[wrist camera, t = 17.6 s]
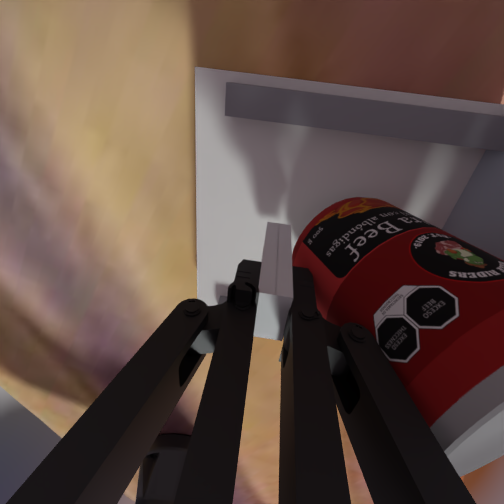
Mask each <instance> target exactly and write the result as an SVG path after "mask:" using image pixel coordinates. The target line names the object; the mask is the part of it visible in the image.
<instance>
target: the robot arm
mask: <svg viewBox="0 0 504 504" xmlns="http://www.w3.org/2000/svg"><path fill="white" fill-rule="evenodd" d="M313 282H314V281H313V275H312V273H311V272H310V270H309V269H308V268H303V267H296V266H292V243H291V225H287V224H281V223H274V222H267V227H266V234H265V240H264V246H263V253H262V259H261V262H259V261H252V260H246V259H243V260H242V261H241V262H240V263H239V264H238V267H237V272H236V275H235V279H234V282H233V283H231V284H230V285H229V287H228V293H227V301H225V302H224V303H222V304H219V305H214V306H207V304H206V303H205V302H203V301H202V300H200V299H187V300H184V301H182V302H181V303H179V304H178V305H177V306H176V308H175V309H174V310H173V311H172V312H171V313H170V315H169V316H168V317H167V318H166V319H165V320H164V321H163V323H162V324H161V325H160V326H159V327H158V328H157V330H156V331H155V332H154V333H153V334H152V335H151V336H150V338H149V339H148V340H147V341H146V342H145V343H144V345H143V346H142V347H141V348H140V349H139V350H138V351H137V353H136V354H135V355H134V356H133V357H132V358H131V360H130V361H129V362H128V363H127V364H126V365H125V367H124V368H123V369H122V370H121V371H120V372H119V373H118V375H117V376H116V377H115V378H114V379H113V380H112V382H111V383H110V384H109V385H108V386H107V387H106V388H105V390H104V391H103V392H102V393H101V394H100V395H99V397H98V398H97V399H96V400H95V401H94V402H93V403H92V405H91V406H90V407H89V408H88V409H87V410H86V412H85V413H84V414H83V415H82V416H81V417H80V419H79V420H78V421H77V422H76V423H75V424H74V425H73V427H72V428H71V429H70V430H69V431H68V432H67V434H66V435H65V436H64V437H63V438H62V439H61V441H60V442H59V443H58V444H57V445H56V446H55V447H54V449H53V450H52V451H51V452H50V453H49V454H48V456H47V457H46V458H45V459H44V460H43V461H42V462H41V464H40V465H39V466H38V467H37V468H36V469H35V471H34V472H33V473H32V474H31V475H30V476H29V478H28V479H27V480H26V481H25V482H24V483H23V484H22V486H21V487H20V488H19V489H18V490H17V491H16V492H15V494H14V495H13V496H12V497H11V498H10V499H9V501H8V502H7V503H6V504H117V503H118V501H119V500H120V498H121V496H122V495H123V493H124V491H125V490H126V488H127V486H128V485H129V483H130V481H131V480H132V478H133V476H134V475H135V473H136V471H137V470H138V468H139V466H140V469H139V478H138V486H137V495H136V502H135V504H232V503H233V495H234V487H235V479H236V471H237V463H238V455H239V447H240V439H241V431H242V423H243V415H244V407H245V399H246V391H247V383H248V375H249V368H250V360H251V352H252V344H253V336H255V337H261V338H268V339H274V340H280V341H282V339H283V335H284V342H283V347H282V351H281V354H280V358H279V361H280V362H281V403H280V456H279V504H351V500H350V494H349V487H348V480H347V474H346V467H345V461H344V454H343V448H342V441H341V434H340V428H339V421H338V415H337V408H336V405H337V407H338V410H339V413H340V415H341V418H342V421H343V423H344V426H345V428H346V431H347V434H348V436H349V439H350V442H351V444H352V447H353V450H354V452H355V455H356V457H357V460H358V463H359V465H360V468H361V471H362V473H363V476H364V479H365V481H366V484H367V486H368V489H369V492H370V494H371V497H372V500H373V502H374V504H476V503H475V501H474V499H473V498H472V496H471V494H470V493H469V491H468V490H467V488H466V486H465V485H464V483H463V481H462V480H461V478H460V477H459V475H458V473H457V472H456V470H455V468H454V467H453V465H452V464H451V462H450V460H449V459H448V457H447V455H446V454H445V452H444V451H443V449H442V447H441V446H440V444H439V442H438V441H437V439H436V437H435V436H434V434H433V433H432V431H431V429H430V428H429V426H428V424H427V423H426V421H425V420H424V418H423V416H422V415H421V413H420V411H419V410H418V408H417V407H416V405H415V403H414V402H413V400H412V398H411V397H410V395H409V394H408V392H407V390H406V389H405V387H404V385H403V384H402V382H401V380H400V379H399V377H398V376H397V374H396V372H395V371H394V369H393V367H392V366H391V364H390V363H389V361H388V359H387V358H386V356H385V354H384V353H383V351H382V350H381V348H380V346H379V345H378V343H377V341H376V340H375V338H374V337H373V335H372V334H371V332H370V331H369V330H368V329H367V328H365V327H364V326H362V325H360V324H357V323H352V322H349V323H345V324H344V325H343V326H342V327H340V326H337V325H335V324H333V323H331V322H329V321H327V320H325V319H324V318H323V317H322V314H321V312H320V311H319V310H318V309H317V303H316V296H315V288H314V283H313ZM206 353H213V356H212V360H211V364H210V368H209V371H208V375H207V379H206V383H205V387H204V390H203V394H202V398H201V402H200V405H199V409H198V413H197V417H196V421H195V424H194V428H193V432H192V436H191V437H190V436H185V435H176V434H166V435H159V436H158V434H159V433H160V431H161V429H162V428H163V426H164V424H165V423H166V421H167V419H168V418H169V416H170V414H171V413H172V411H173V409H174V408H175V406H176V404H177V403H178V401H179V399H180V397H181V396H182V394H183V392H184V391H185V389H186V387H187V386H188V384H189V382H190V381H191V379H192V377H193V376H194V374H195V372H196V371H197V369H198V367H199V366H200V364H201V362H202V361H203V359H204V357H205V356H206Z"/></svg>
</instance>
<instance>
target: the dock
mask: <svg viewBox="0 0 504 504" xmlns="http://www.w3.org/2000/svg"><path fill="white" fill-rule="evenodd" d="M195 118H196V218H197V299H200V300H202V301H203V302H205V303H206V304H207V306H214V305H219V304H222V303H224V302H225V301H227V293H228V287H229V285H230V284H231V283H233V282H234V279H235V275H236V272H237V267H238V264H239V263H240V262H241V261H242V260H243V259H246V260H252V261H259V262H261V259H262V253H263V246H264V240H265V234H266V227H267V222H274V223H281V224H287V225H291V243H292V253H293V249H294V246H295V244H296V242H297V240H298V238H299V236H300V235H301V233H302V232H303V230H304V229H305V227H306V226H307V225H308V224H309V223H310V222H311V220H312V219H313V218H314V217H315V216H317V215H318V214H319V213H320V212H321V211H323V210H324V209H325V208H327V207H329V206H331V205H332V204H334V203H336V202H339V201H341V200H344V199H347V198H353V197H365V198H377V199H380V200H383V201H386V202H388V203H390V204H392V205H394V206H396V207H398V208H400V209H402V210H404V211H406V212H408V213H410V214H412V215H414V216H416V217H418V218H420V219H422V220H424V221H426V222H428V223H430V224H432V225H434V226H436V227H438V228H440V229H442V230H444V231H446V232H448V233H450V234H452V235H454V236H456V237H458V238H460V239H462V240H464V241H466V242H468V243H470V244H472V245H474V246H476V247H478V248H480V249H482V250H484V251H486V252H488V253H490V254H492V255H494V256H496V257H498V258H500V259H502V260H504V105H503V104H495V103H487V102H479V101H471V100H463V99H455V98H446V97H438V96H430V95H422V94H414V93H406V92H398V91H390V90H381V89H373V88H365V87H357V86H349V85H341V84H333V83H325V82H317V81H308V80H300V79H292V78H284V77H276V76H268V75H260V74H252V73H243V72H235V71H227V70H219V69H211V68H203V67H195Z"/></svg>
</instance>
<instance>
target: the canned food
mask: <svg viewBox="0 0 504 504" xmlns="http://www.w3.org/2000/svg"><path fill="white" fill-rule="evenodd" d="M292 266H296V267H303V268H308V269H309V270H310V272H311V273H312V275H313V281H314V282H313V283H314V288H315V296H316V303H317V309H318V310H319V311H320V312H321V314H322V317H323V318H324V319H325V320H327V321H329V322H331V323H333V324H335V325H337V326H340V327H342V326H343V325H344V324H345V323H349V322H352V323H357V324H360V325H362V326H364V327H365V328H367V329H368V330H369V331H370V332H371V334H372V335H373V337H374V338H375V340H376V341H377V343H378V345H379V346H380V348H381V350H382V351H383V353H384V354H385V356H386V358H387V359H388V361H389V363H390V364H391V366H392V367H393V369H394V371H395V372H396V374H397V376H398V377H399V379H400V380H401V382H402V384H403V385H404V387H405V389H406V390H407V392H408V394H409V395H410V397H411V398H412V400H413V402H414V403H415V405H416V407H417V408H418V410H419V411H420V413H421V415H422V416H423V418H424V420H425V421H426V423H427V424H428V426H429V428H430V429H431V431H432V433H433V434H434V436H435V437H436V439H437V441H438V442H439V444H440V446H441V447H442V449H443V451H444V452H445V454H446V455H447V457H448V459H449V460H450V462H451V464H452V465H453V467H454V468H455V470H456V472H457V473H458V475H459V477H461V476H463V475H465V474H467V473H470V472H472V471H474V470H476V469H478V468H480V467H482V466H484V465H486V464H488V463H490V462H491V461H493V460H495V459H497V458H499V457H501V456H502V455H504V260H502V259H500V258H498V257H496V256H494V255H492V254H490V253H488V252H486V251H484V250H482V249H480V248H478V247H476V246H474V245H472V244H470V243H468V242H466V241H464V240H462V239H460V238H458V237H456V236H454V235H452V234H450V233H448V232H446V231H444V230H442V229H440V228H438V227H436V226H434V225H432V224H430V223H428V222H426V221H424V220H422V219H420V218H418V217H416V216H414V215H412V214H410V213H408V212H406V211H404V210H402V209H400V208H398V207H396V206H394V205H392V204H390V203H388V202H386V201H383V200H380V199H377V198H365V197H353V198H347V199H344V200H341V201H339V202H336V203H334V204H332V205H331V206H329V207H327V208H325V209H324V210H323V211H321V212H320V213H319V214H318V215H317V216H315V217H314V218H313V219H312V220H311V222H310V223H309V224H308V225H307V226H306V227H305V229H304V230H303V232H302V233H301V235H300V236H299V238H298V240H297V242H296V244H295V246H294V249H293V253H292Z"/></svg>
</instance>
